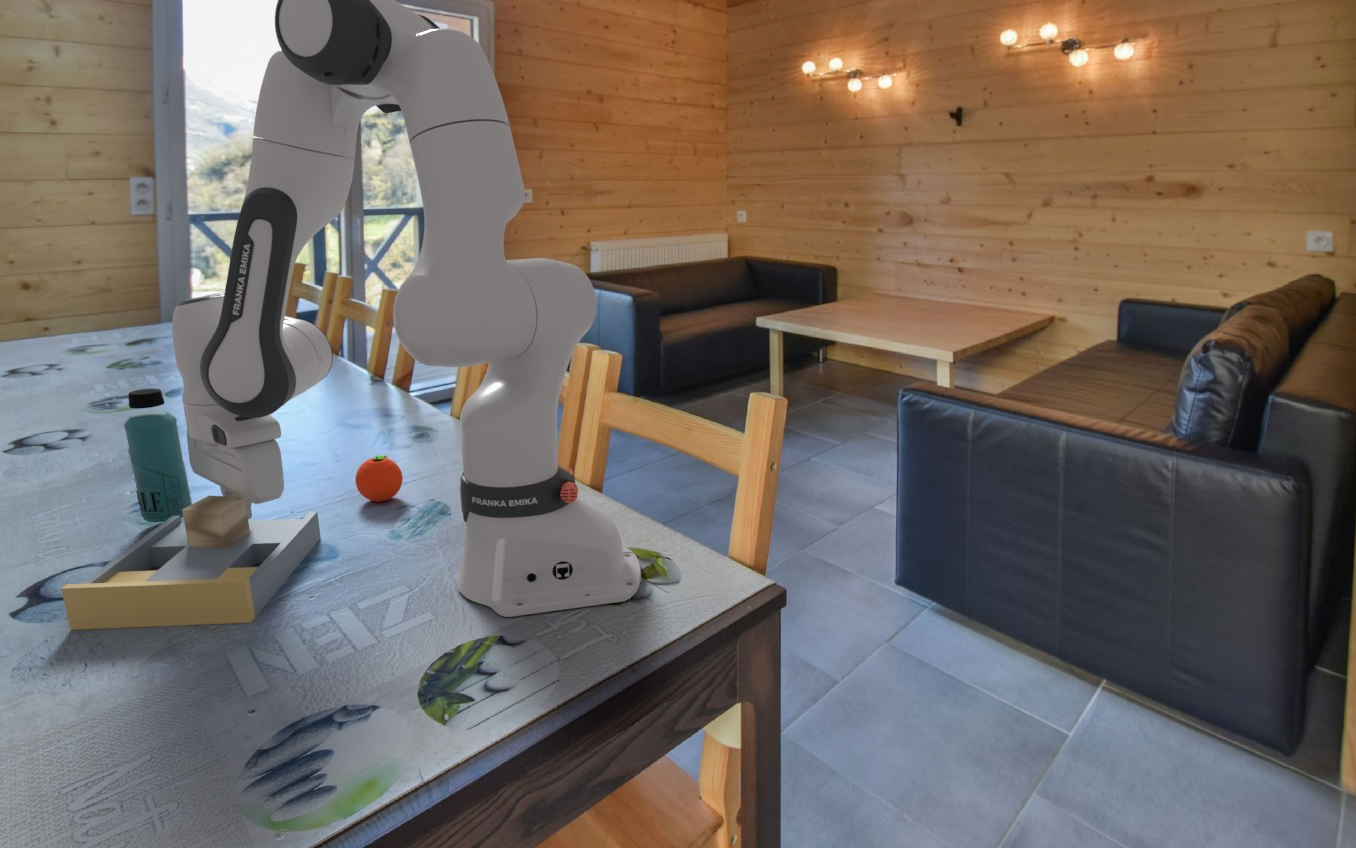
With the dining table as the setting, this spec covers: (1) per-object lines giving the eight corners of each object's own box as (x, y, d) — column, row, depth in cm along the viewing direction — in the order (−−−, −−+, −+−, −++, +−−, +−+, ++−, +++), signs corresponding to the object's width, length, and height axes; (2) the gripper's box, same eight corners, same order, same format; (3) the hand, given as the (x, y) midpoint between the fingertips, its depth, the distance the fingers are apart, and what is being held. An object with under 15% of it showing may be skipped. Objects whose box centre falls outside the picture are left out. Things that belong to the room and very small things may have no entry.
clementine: (367, 490, 130) (363, 448, 128) (411, 489, 130) (407, 447, 128) (351, 508, 122) (346, 464, 120) (397, 507, 123) (393, 463, 121)
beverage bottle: (201, 513, 120) (178, 383, 114) (187, 530, 114) (163, 393, 108) (151, 517, 118) (127, 385, 113) (135, 535, 112) (108, 396, 107)
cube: (250, 532, 106) (244, 497, 104) (225, 548, 101) (219, 511, 100) (214, 530, 106) (208, 495, 105) (188, 546, 101) (182, 509, 100)
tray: (177, 543, 110) (171, 509, 108) (320, 538, 111) (316, 504, 110) (70, 630, 88) (61, 588, 86) (251, 622, 89) (244, 581, 88)
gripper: (167, 410, 108) (184, 506, 112) (234, 438, 96) (251, 544, 99) (216, 401, 113) (231, 493, 117) (287, 427, 100) (300, 529, 104)
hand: (241, 517), depth 108 cm, fingers closed
